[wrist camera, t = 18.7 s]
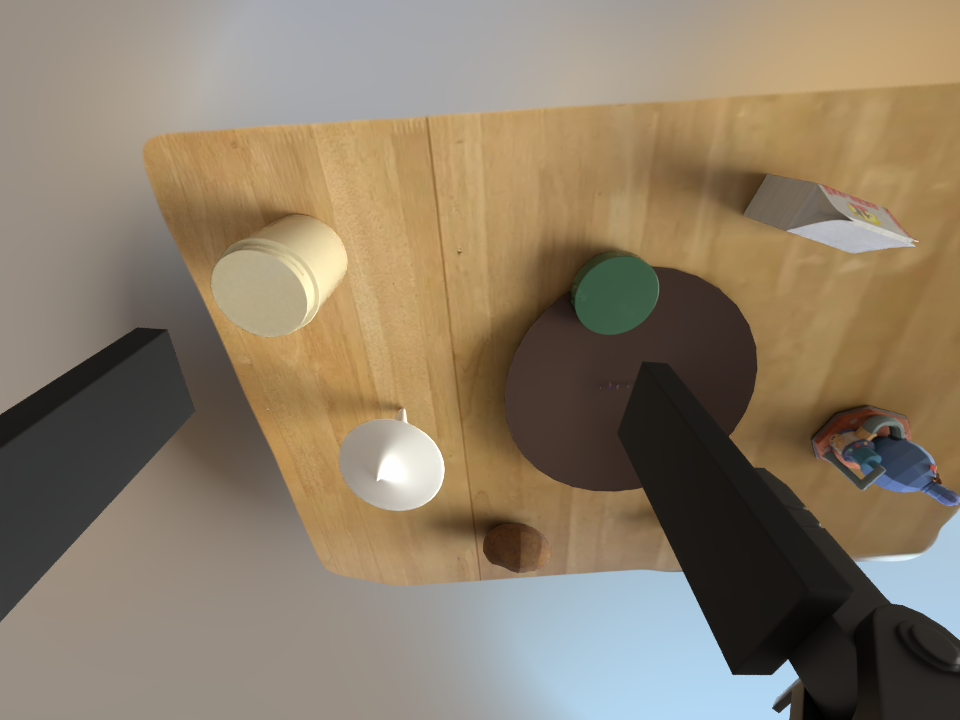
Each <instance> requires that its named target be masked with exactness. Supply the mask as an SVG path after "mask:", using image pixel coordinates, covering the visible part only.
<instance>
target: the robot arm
mask: <svg viewBox="0 0 960 720" xmlns="http://www.w3.org/2000/svg"><path fill="white" fill-rule="evenodd" d="M194 412H195V410H194V406H193V403H192V401H191V398H190V395H189V392H188V389H187V386H186V383H185V380H184V377H183V374H182V371H181V368H180V365H179V363H178V359H177V356H176V353H175V350H174V347H173V345H172V341H171V338H170V336H169V333H168V330H166V329H150V328H136V329H134V330H133V331H131V332H130V333H128V334H126V335H125V336H123V337H122V338H120V339H118V340H117V341H115V342H114V343H112V344H111V345H109V346H107V347H106V348H104V349H103V350H101V351H100V352H98V353H97V354H95V355H93V356H92V357H90V358H89V359H87V360H85V361H84V362H82V363H81V364H79V365H78V366H76V367H74V368H73V369H71V370H70V371H68V372H67V373H65V374H63V375H62V376H60V377H59V378H57V379H56V380H54V381H52V382H51V383H49V384H48V385H46V386H45V387H43V388H41V389H40V390H38V391H37V392H35V393H34V394H32V395H30V396H29V397H27V398H26V399H24V400H23V401H21V402H20V403H18V404H17V405H15V406H13V407H12V408H10V409H8V410H7V411H5V412H4V413H2V414H1V415H0V622H1V621H2V620H3V618H4V617H5V616H6V615H7V614H8V613H9V612H10V611H11V610H12V609H13V608H14V607H15V606H16V604H17V603H18V602H19V601H20V600H21V599H22V598H23V597H24V596H25V595H26V594H27V593H28V591H29V590H30V589H31V588H32V587H33V586H34V585H35V584H36V583H37V582H38V581H39V580H40V578H41V577H42V576H43V575H44V574H45V573H46V572H47V571H48V570H49V569H50V568H51V567H52V565H53V564H54V563H55V562H56V561H57V560H58V559H59V558H60V557H61V556H62V555H63V554H64V552H65V551H66V550H67V549H68V548H69V547H70V546H71V545H72V544H73V543H74V542H75V541H76V540H77V538H78V537H79V536H80V535H81V534H82V533H83V532H84V531H85V530H86V529H87V527H89V525H90V524H91V523H92V522H93V521H94V520H95V519H96V518H97V517H98V516H99V515H100V514H101V512H102V511H103V510H104V509H105V508H106V507H107V506H108V505H109V504H110V503H111V502H112V501H113V500H114V498H115V497H116V496H117V495H118V494H119V493H120V492H121V491H122V490H123V489H124V487H125V486H126V485H127V484H128V483H129V482H130V481H131V480H132V479H133V478H134V477H135V476H136V475H137V474H138V472H139V471H140V470H141V469H142V468H143V467H144V466H145V465H146V464H147V463H148V462H149V460H151V458H152V457H153V456H154V455H155V454H156V453H157V452H158V451H159V450H160V449H161V447H163V445H164V444H165V443H166V442H167V441H168V440H169V439H170V438H171V437H172V436H173V434H175V432H176V431H177V430H178V429H179V428H180V427H181V426H182V425H183V424H184V423H185V422H186V420H187V419H188V418H189V417H190V416H191V415H192V414H193V413H194ZM617 434H618V437H619V439H620V441H621V443H622V445H623V447H624V449H625V451H626V453H627V455H628V457H629V460H630V462H631V464H632V466H633V468H634V470H635V472H636V474H637V476H638V478H639V480H640V482H641V485H642V487H643V489H644V491H645V493H646V495H647V497H648V499H649V501H650V503H651V505H652V507H653V510H654V512H655V514H656V516H657V518H658V520H659V522H660V524H661V526H662V528H663V530H664V533H665V535H666V537H667V539H668V541H669V543H670V545H671V547H672V549H673V551H674V553H675V555H676V558H677V560H678V562H679V564H680V566H681V568H682V570H683V572H684V574H685V576H686V578H687V581H688V583H689V585H690V587H691V589H692V591H693V593H694V595H695V597H696V599H697V601H698V603H699V605H700V608H701V609H702V612H703V614H704V616H705V618H706V620H707V622H708V624H709V626H710V628H711V630H712V633H713V635H714V637H715V639H716V641H717V643H718V645H719V647H720V649H721V651H722V654H723V656H724V658H725V660H726V662H727V664H728V666H729V668H730V670H731V672H732V674H733V675H772V674H773V673H774V672H775V671H776V670H777V669H778V668H779V667H780V666H781V665H782V664H784V662H786V661H787V659H789V661H790V663H791V664H792V666H793V668H794V670H795V671H796V673H797V675H798V676H799V678H798V679H797V680H796V681H795V682H794V683H793V684H792V685H791V686H789V687H788V688H787V689H786V690H785V691H784V692H783V693H782V694H781V695H780V696H778V697H777V698H776V700H775V702H774V705H773V707H772V709H774V710H775V711H776V712H778V713H780V712H781V711H782V710H783V709H784V708H785V707H787V706H788V705H789V704H790V703H791V708H790V719H789V720H960V640H959V639H957V638H956V637H955V636H954V635H953V634H952V633H950V632H949V631H948V630H947V629H946V628H944V627H943V626H941V625H940V624H938V623H937V622H935V621H933V620H932V619H930V618H928V617H927V616H925V615H924V614H922V613H920V612H917V611H915V610H913V609H910V608H908V607H905V606H903V605H897V604H891V603H890V602H889V601H888V600H887V599H886V598H885V597H884V595H883V594H882V593H881V592H880V591H879V590H878V589H877V588H876V586H875V585H874V584H873V583H872V582H871V581H870V579H869V578H868V577H867V576H866V575H865V574H864V573H863V571H862V570H861V569H860V568H859V567H858V566H857V565H856V563H855V562H854V561H853V560H852V559H851V558H850V557H849V555H848V554H847V553H846V552H845V551H844V550H843V549H842V547H841V546H840V545H839V544H838V543H837V542H836V541H835V539H834V538H833V537H832V536H831V535H830V534H829V533H828V531H827V530H826V529H825V528H821V526H820V524H821V523H820V522H819V521H818V520H817V519H816V518H815V517H814V515H813V514H812V513H811V512H810V511H809V510H806V509H805V507H806V506H805V505H804V504H803V503H802V502H801V501H800V499H799V498H798V497H797V496H796V495H795V494H794V493H793V491H792V490H791V489H790V488H789V487H788V486H787V485H786V484H785V483H783V482H782V481H781V480H779V479H778V478H777V477H775V476H774V475H773V474H771V473H770V472H769V471H767V470H766V469H765V468H754V467H753V466H752V465H751V464H750V462H749V461H748V460H747V459H746V457H745V456H744V455H743V454H742V453H741V451H740V450H739V449H738V448H737V447H736V445H735V444H734V443H733V442H732V440H731V439H730V438H729V437H728V436H727V434H726V433H725V432H724V431H723V430H722V428H721V427H720V426H719V425H718V423H717V422H716V421H715V420H714V419H713V417H712V416H711V415H710V414H709V413H708V411H707V410H706V409H705V408H704V406H703V405H702V404H701V403H700V402H699V400H698V399H697V398H696V397H695V396H694V394H693V393H692V392H691V391H690V390H689V388H688V387H687V386H686V385H685V383H684V382H683V381H682V380H681V379H680V377H679V376H678V375H677V374H676V373H675V371H674V370H673V369H672V368H671V366H670V365H669V364H668V363H661V362H646V361H642V364H641V366H640V369H639V372H638V375H637V378H636V381H635V384H634V386H633V389H632V392H631V395H630V398H629V401H628V404H627V406H626V409H625V412H624V415H623V418H622V421H621V424H620V426H619V429H618V432H617Z"/></svg>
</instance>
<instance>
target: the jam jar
mask: <svg viewBox="0 0 960 720" xmlns="http://www.w3.org/2000/svg"><path fill="white" fill-rule="evenodd" d="M346 269H347V255H346V251H345V248H344V246H343V244H342V242H341V240H340V238H339V237H338V235H337V234H336V233H335V232H334V231H333V230H332V229H331V228H330V227H329V226H327V225H326V224H325V223H323V222H322V221H320V220H318V219H316V218H313V217H310V216H306V215H289V216H285V217H283V218H280V219H279V220H277V221H275V222H273V223H271V224H269V225H267V226H266V227H264V228H262V229H260V230H258V231H256V232H254V233H253V234H251V235H249V236H247V237H245V238H243V239H241V240H240V241H238V242H236V243H234V244H232V245H231V246H230V247H228V248H227V249H226V250H225V252H224V253H223V254H222V256H221V258H220V259H219V261H218V262H217V264H216V265H215V266H214V269H213V272H212V276H211V290H212V294H213V297H214V299H215V302H216V303H217V305H218V307H219V308H220V310H221V311H222V313H223V314H224V315H225V316H226V317H227V318H228V319H229V320H230V321H231V322H233V323H234V324H235V325H237V326H238V327H240V328H242V330H245V331H247V332H250V333H252V334H254V335H257V336H262V337H278V336H283V335H286V334H289V333H291V332H293V331H294V330H296V329H299V328H301V327H303V326H305V325H306V324H308V323H309V322H310V321H311V320H312V319H313V318H314V316H315V315H316V314H317V312H318V311H319V310H320V308H321V307H322V306H323V304H324V303H325V302H326V301H327V299H328V298H329V297H330V295H331V294H332V293H333V291H334V290H335V289H336V288H337V286H338V285H339V284H340V282H341V281H342V280H343V278H344V276H345V273H346Z"/></svg>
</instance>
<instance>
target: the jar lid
mask: <svg viewBox="0 0 960 720" xmlns="http://www.w3.org/2000/svg"><path fill="white" fill-rule="evenodd" d="M658 294H659V283H658V278H657V276H656V273H655V272H654V270H653V269H652V267H651V266H650V265H649V264H647V263H646V262H645V261H644V260H642V259H641V258H640V257H638V256H637V255H635V254H633V253H630V252H627V251H610V252H606V253H603V254H600V255H598V256H596V257H594V258H593V259H591V260H590V261H588V262H587V263H586V264H585V265H584V266H583V267H582V268H581V269H580V271H579V272H578V273H577V275H576V277H575V279H574V281H573V284H572V288H571V303H572V309H573V311H574V312H575V313H576V315H577V316H578V318H579V320H580V321H581V323H582V324H583V325H584V326H585V327H587V328H588V329H589V330H591V331H593V332H596V333H599V334H605V335H613V334H619V333H623V332H626V331H629V330H631V329H633V328H634V327H636V326H638V325H639V324H640V323H642V322H643V321H644V320H645V319H646V318H647V317H648V315H649V314H650V313H651V311H652V310H653V308H654V306H655V304H656V301H657V298H658Z"/></svg>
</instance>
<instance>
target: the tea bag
mask: <svg viewBox="0 0 960 720" xmlns="http://www.w3.org/2000/svg"><path fill="white" fill-rule="evenodd" d="M743 216H746V217H748V218H751V219H754V220H757V221H760V222H763V223H765V224H768V225H771V226H774V227H777V228H780V229H782V230H785V231H788V232H791V233H794V234H797V235H800V236H803V237H806V238H809V239H812V240H815V241H818V242H821V243H823V244H826V245H829V246H832V247H835V248H838V249H841V250H844V251H847V252H850V253H859V252H866V251H872V250H878V249H885V248H893V247H904V246H907V247H916V246H915V245H913V244H912V243H911V242H909V241H913V242H919V241H917V240H916V239H914V238H912V237H911V236H910V235H909V234H908V233H907V232H906V231H905V230H904V229H903V228H902V227H901V226H900V224H899V223H898V222H897V221H896V219H895V218H894V217H893V216H892V214H891V213H890V212H889V211H888V209H886V208H883V207H880V206H878V205H875V204H872V203H870V202H867V201H864V200H862V199H859V198H856V197H854V196H851V195H848V194H845V193H843V192H840V191H837V190H835V189H832V188H829V187H827V186H824V185H821V184H818V183H814V182H809V181H803V180H798V179H792V178H787V177H782V176H776V175H771V174H767V176H766V177H765V179H764V181H763V182H762V184H761V186H760V187H759V189H758V191H757V192H756V194H755V196H754V197H753V199H752V201H751V202H750V204H749V206H748V207H747V209H746V211H745V212H744V214H743Z"/></svg>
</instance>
